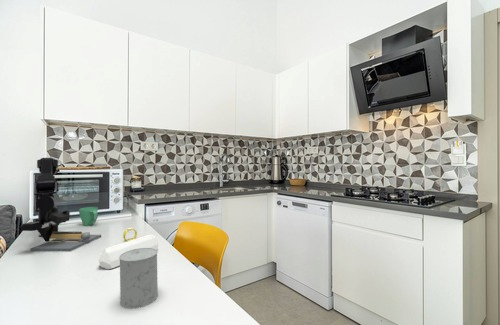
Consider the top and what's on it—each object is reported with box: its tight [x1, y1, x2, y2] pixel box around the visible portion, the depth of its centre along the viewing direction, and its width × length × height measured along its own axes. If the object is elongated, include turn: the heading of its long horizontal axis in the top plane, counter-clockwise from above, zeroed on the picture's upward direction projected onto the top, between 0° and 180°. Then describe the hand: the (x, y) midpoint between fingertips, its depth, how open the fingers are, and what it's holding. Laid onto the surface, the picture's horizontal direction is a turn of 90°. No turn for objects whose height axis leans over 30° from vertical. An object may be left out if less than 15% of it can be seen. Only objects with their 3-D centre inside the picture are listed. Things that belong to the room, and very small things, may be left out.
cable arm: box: [50, 231, 91, 240], centre depth 117 cm, size 19×4×3 cm, turn 87°
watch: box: [122, 227, 138, 242], centre depth 120 cm, size 6×3×6 cm, turn 140°
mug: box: [78, 206, 99, 227], centre depth 150 cm, size 15×10×10 cm
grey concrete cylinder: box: [119, 248, 159, 310], centre depth 69 cm, size 10×10×12 cm
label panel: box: [29, 234, 102, 252], centre depth 117 cm, size 19×20×2 cm
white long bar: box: [98, 233, 159, 270], centre depth 97 cm, size 7×7×24 cm
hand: (47, 241), depth 112 cm, fingers closed
